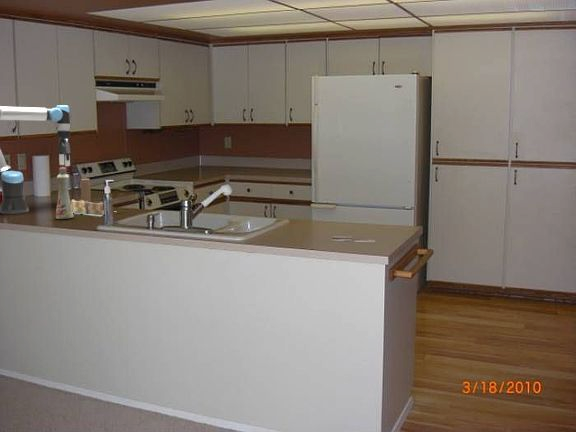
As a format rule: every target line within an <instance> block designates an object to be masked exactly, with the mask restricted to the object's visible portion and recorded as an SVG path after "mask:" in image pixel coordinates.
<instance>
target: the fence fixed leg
mask: <svg viewBox="0 0 576 432" xmlns="http://www.w3.org/2000/svg"><path fill="white" fill-rule="evenodd" d="M85 202H86V214H94V215H104V210H105V208H104V209H103V204H104V202H103V201H102V202H101V201H100V202H99V203H98V202H91V203H90V202H88V201H85Z"/></svg>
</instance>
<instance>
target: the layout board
mask: <svg viewBox="0 0 576 432" xmlns="http://www.w3.org/2000/svg"><path fill="white" fill-rule="evenodd" d="M113 211H114V210H113ZM114 212H116V211H114ZM73 213H74V214H73V215H80V214H83V215H82V216H89V217H91V216H92V217H97V218H98V217H99V218H103V217H104V216H103V215H94V214H86V213H81V212H73ZM102 216H103V217H102Z"/></svg>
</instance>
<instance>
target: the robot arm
mask: <svg viewBox="0 0 576 432" xmlns="http://www.w3.org/2000/svg"><path fill="white" fill-rule="evenodd" d="M0 121H39V122H40V121H41V122H45V121H46V122H56V130H57V132H56V135H57V136H56V137H57V138H58V148H57V149H58V151H57V153H58V155H59V157H58V160H59V161H58V162H59V163H58V164H59V166H65V167H70V166H71V157H70V156H71V154H72V153H71V148H70V147H71V146H70V140H69V138H71V131H70V130H71V128H70V127H71V125H70V124H71V122H70V107H69V105H65V104H63V105H61V104H60V105H56V107H38V106H37V107H36V106H34V107H31V106H30V107H28V106H6V105H5V106H4V105H3V106H1V105H0ZM24 185H25V184H24V174H23V173H22V172H21V171H15V170H13V169H12V167H11V166H10V165H8V164H7V162H6V159H5V157H4V154H3V152H2V150H1V148H0V192H1V193H2V202H1V204H0V214H3V215H15V214H16V215H17V214H19V215H20V214H24V213H28V212H29V206H28V204H27V202H26V198H25V188H24Z"/></svg>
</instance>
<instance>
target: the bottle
mask: <svg viewBox="0 0 576 432" xmlns="http://www.w3.org/2000/svg"><path fill="white" fill-rule="evenodd" d="M56 180H57V185H58V195H57V203H56V209H55V210H56V211H55V218H56V219H57V220H68V219H72V218H74V214H73V212H72V207H71V199H70V198H71V197H70V195H69V183H70V182H69V181H70V176H69V175H68V174H67V167H66V166H65V167H64V166H61V167H59V174H58V175H57V176H56Z"/></svg>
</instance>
